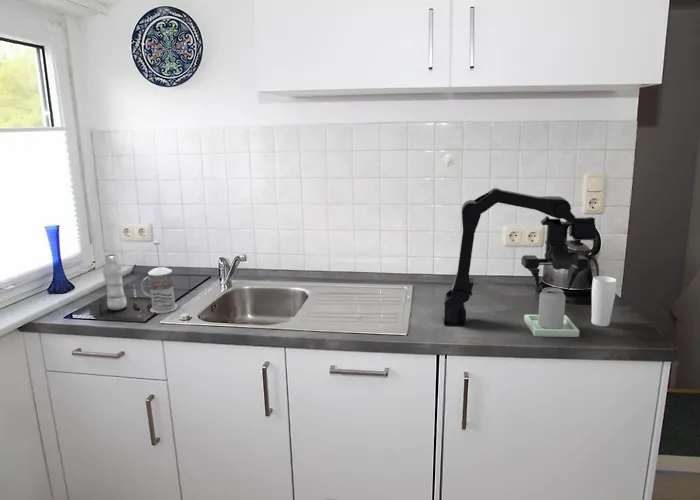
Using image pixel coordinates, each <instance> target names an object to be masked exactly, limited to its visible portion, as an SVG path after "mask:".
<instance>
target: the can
mask: <svg viewBox="0 0 700 500" xmlns="http://www.w3.org/2000/svg"><path fill="white" fill-rule="evenodd" d="M565 306H566V295H565V292H564V290H563V289H560V288H558V287H557V288H556V287H544V288H543V289H541V292H540V293H539V301H538V313H537V315H538V324H539V325H540V326H541V327H542V328H544V329H560V328H562V327H563V322H564V315H565V311H566V307H565Z"/></svg>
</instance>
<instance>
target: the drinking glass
mask: <svg viewBox="0 0 700 500" xmlns="http://www.w3.org/2000/svg"><path fill="white" fill-rule="evenodd" d="M616 293H617V279H616V278H615V277H611V276H606V275H605V276H604V275H597V276H593V278H592V283H591V320H590V321H591V324H592V325H593V326H597V327H599V328H600V327H604V328H605V327H609V325H610V324H611V317H612V313H613V307H614V302H615V298H616Z"/></svg>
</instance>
